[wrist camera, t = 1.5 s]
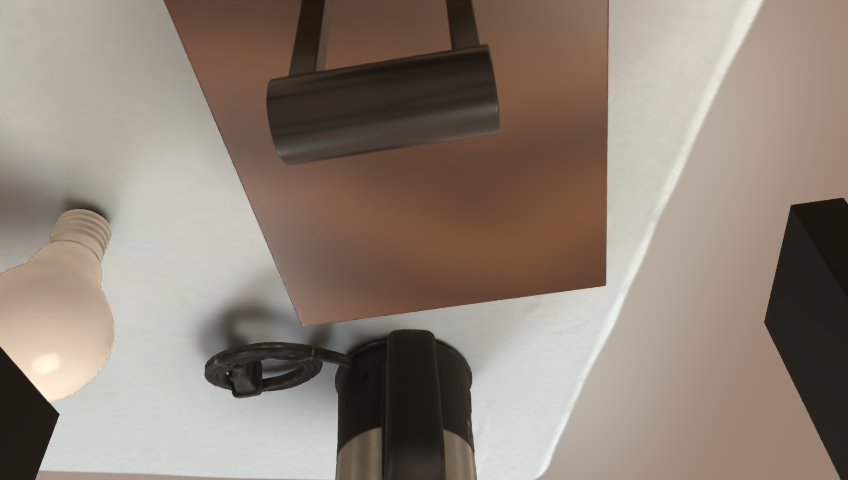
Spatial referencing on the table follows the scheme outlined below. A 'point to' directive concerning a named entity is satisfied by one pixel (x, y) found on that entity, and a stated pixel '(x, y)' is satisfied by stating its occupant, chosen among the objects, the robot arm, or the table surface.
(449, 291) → the lid
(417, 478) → the milk frother
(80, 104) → the table surface
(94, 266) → the lightbulb
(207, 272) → the table surface
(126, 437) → the table surface
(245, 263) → the table surface
